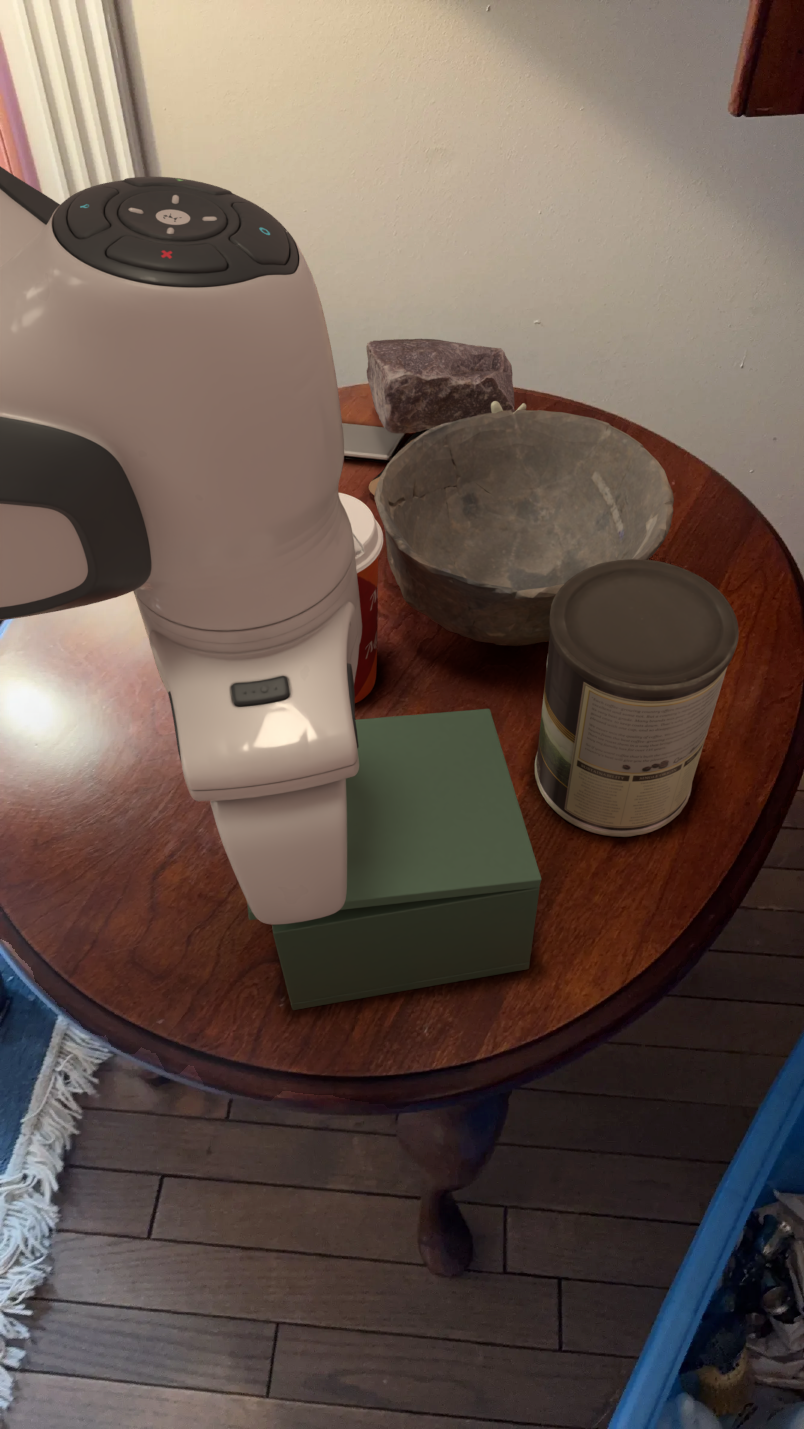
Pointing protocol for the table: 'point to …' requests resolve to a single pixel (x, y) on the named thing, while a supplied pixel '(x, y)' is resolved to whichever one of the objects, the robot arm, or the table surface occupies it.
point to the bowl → (515, 516)
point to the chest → (405, 946)
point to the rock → (435, 382)
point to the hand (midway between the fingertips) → (293, 803)
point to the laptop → (370, 443)
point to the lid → (433, 812)
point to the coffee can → (630, 693)
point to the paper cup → (365, 588)
